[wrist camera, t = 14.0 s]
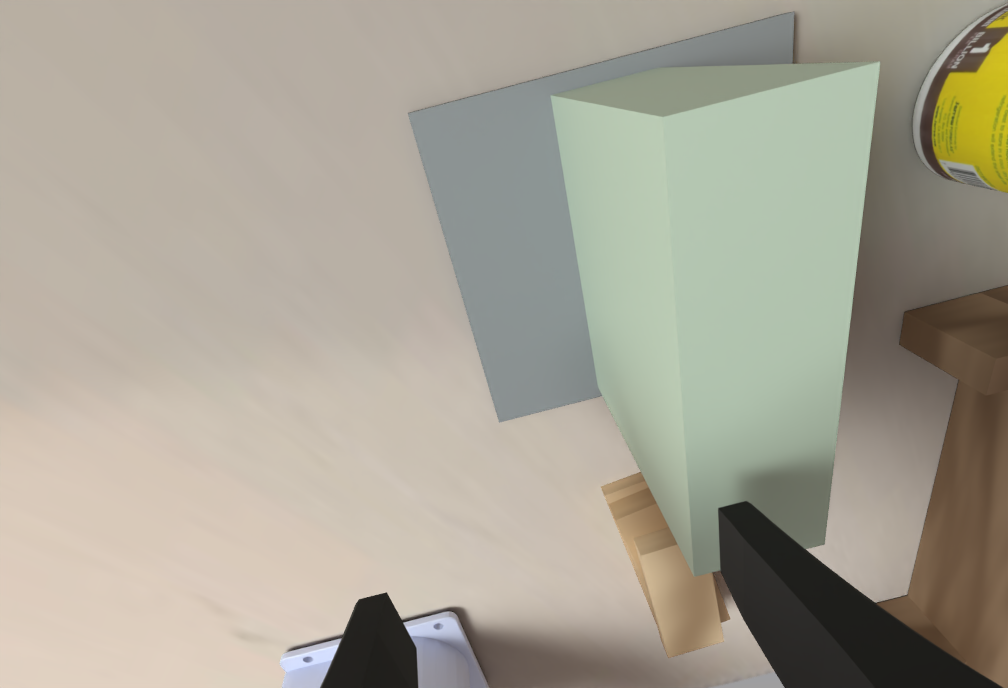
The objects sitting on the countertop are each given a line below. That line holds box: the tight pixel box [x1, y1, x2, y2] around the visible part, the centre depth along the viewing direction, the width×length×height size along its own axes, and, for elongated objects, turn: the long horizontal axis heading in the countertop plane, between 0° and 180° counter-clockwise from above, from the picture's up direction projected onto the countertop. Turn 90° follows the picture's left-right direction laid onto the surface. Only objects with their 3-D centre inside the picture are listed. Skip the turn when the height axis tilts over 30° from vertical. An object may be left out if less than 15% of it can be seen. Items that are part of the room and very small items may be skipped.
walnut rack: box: [876, 286, 1008, 688], centre depth 24 cm, size 5×22×6 cm, turn 13°
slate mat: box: [408, 12, 794, 422], centre depth 19 cm, size 12×12×1 cm
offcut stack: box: [601, 472, 730, 658], centre depth 26 cm, size 4×12×3 cm, turn 22°
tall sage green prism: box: [551, 62, 880, 577], centre depth 14 cm, size 3×11×9 cm, turn 13°
